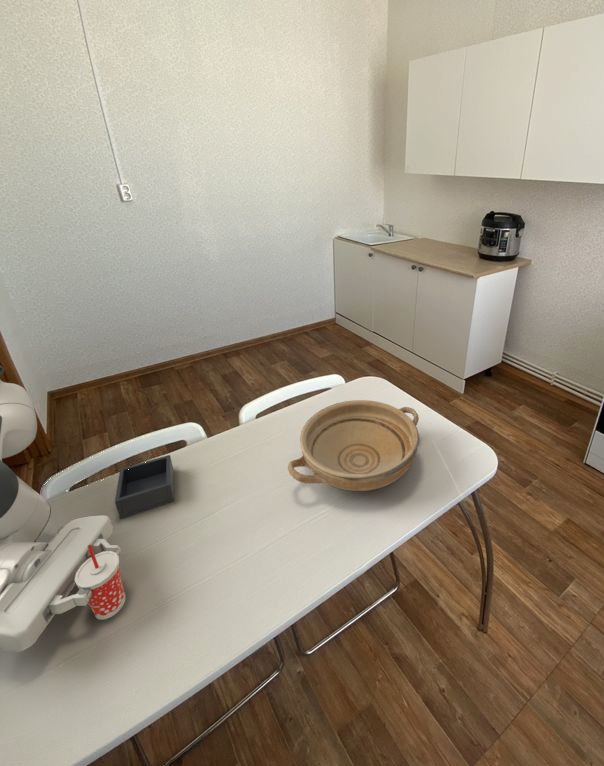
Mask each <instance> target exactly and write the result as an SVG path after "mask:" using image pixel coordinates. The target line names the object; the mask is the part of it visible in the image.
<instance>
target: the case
mask: <svg viewBox="0 0 604 766" xmlns="http://www.w3.org/2000/svg"><path fill="white" fill-rule="evenodd" d="M145 462H146V463H145ZM128 469H129V470H128ZM117 480H118V481H117V487H116V493H115V499H114V504H115V507H116V510H117V512H118V516H119V519H120V520H123V519H125V518H128V517H131V516H134V515H137V514H141V513H143V512H146V511H150V510H153V509H156V508H160V507H162V506H165V505H168V504H172V503H174V502H175V470H174V465H173V461H172V457H171V454H168V455H167V454H166V455H164V456H161V457H157V458H154V459H150V460H147V461H146V460H145V461H143V462H140V463H136V464H132V465H129V466H124V467H121V468H119V474H118V479H117Z"/></svg>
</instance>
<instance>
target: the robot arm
mask: <svg viewBox="0 0 604 766" xmlns="http://www.w3.org/2000/svg"><path fill="white" fill-rule="evenodd" d="M4 372H5V369H4V367H3V366H2V365H1V364H0V377H1V376H2V375H3V374H4ZM37 433H38V418H37V413H36V409H35V406H34V403H33V401H32V398H31V397H30V394H29V393H28V391H27V390H26V389H25V388H24V387H23V386H21V385H19V384H17V383H12V382H5V381H2V380H1V379H0V651H3V652H5V651H6V652H17V653H19V652H23V651H25V650H27V649H29V648H30V647H32V646H33V645H34V644H36V642H37V641H38V639H39V638H40V636H41V635H42V634H43V632H44V631H45V630H46V628H47V626H48V625H49V623H50V622H51V621H52V619H53V618H54V617H55V615H61V614H63V613H65V612H67V611H70V610H72V609H74V608H76V607H86V606H87V605H89V603H88V602H89V600H90V599H91V597H92V596H93V593H92V590H91V589H83V588H80V589H79V588H78V591H76V593H75V594H71V592H72V591H73V589H74V588H75V587H76V586H77V584H76V582H75V575H76V573H77V571H78V569H79V568H80V566H81V565H82V564H83V563H84V562H85V561H86V560H88V559H89V558H91V555H90V552H89V549H88V545H91V546H92V549H93V552H94V555H96V554H98V553H101V552H105V551H112V552H115V553H116V554H117V555H118V557H119V556H120V554H121V553H122V549H121V546H120V545H118V544H110V543H109V542H108V540H109V538H110V537H111V535H112V534H113V532H114V525H113V523H112V520H111V518H110V517H109V516H108V515H106V514H105V515H104V514H103V515H90V516H84V517H78V518H74V519H72V520H70V521H69V522H68V523H65V524H63V525H61V527H59V528H58V530H57V531H56V533H55V534H54V535H53V536H51V538H50V539H49V540H48V541H47V542H42V541H41V542H39V541H37V540H38V539H39V537H40V536H41V534H42V533H43V531H44V530H45V528H46V527H47V524H48V523H49V520H50V518H51V513H52V507H51V504H50V502H49V500H47V499H45V498H44V497H43V496H42V495H41V494H40V493H38V491H36V490H35V489H33V488H32V487H31V486H30V485H29V484H28V483H26V482H25V481H23V479H22V478H20V477H19V476H18V475H17V474H16V473H15V472H14V471H13V470H12V469H11V467H9V466H8V465H7V464H6V463H4V462H3V459H7V458H9V457H13V456H15V455H18V454H19V453H21V452H22V451H24V450H25V449H27V448H28V447H29V446H31V444H32V443H33V442H34V441H35V439H36V437H37ZM36 541H37V542H36ZM70 594H71V595H70Z"/></svg>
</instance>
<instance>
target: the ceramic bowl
mask: <svg viewBox="0 0 604 766" xmlns="http://www.w3.org/2000/svg"><path fill="white" fill-rule="evenodd" d="M408 414H411V415H412V416H413V419H412V418H411V417H410V416H409V415H408ZM419 420H420V417H419V414H418V412H417V411H416V410H415V409H414V408H412V407H409V406H403V407H400V408H397V407H395V406H393V405H390V404H388V403H385V402H381V401H376V400H369V399H354V400H353V399H352V400H345V401H341V402H337V403H334V404H331V405H328V406H326V407H324V408H322V409H320V410H318V411H317V412H316V413H313V415H312V416H311V417H310V418H309V419H308V420H307V421H306V422H305V424H304V425H303V427H302V429H301V432H300V437H299V444H300V449H301V454H302V455H301V457H300V458H297V459H293V460H291V461H290V462H289V463H288V464H287V471H288V473H289V475H290V476H291V477H292V478H293V479H295V480H296V481H297V482H299V483H301V484H302V483H303V484H309V485H311V484H327V485H329V486H331V487H333V488H336V489H339V490H343V491H349V492H368V491H373V490H375V491H376V490H378V489H382V488H384V487H387V486H388V485H391V484H392V483H395V482H396V481H397V480H398V479H400V478H401V477H402V476H404V475H405V474H406V472H408V471H409V470H410V468H411V466H412V464H413V463H414V461H415V459H416V456H417V452H418V447H419V443H420V435H419V431H418V427H417V426H418V423H419ZM301 467H303V468H308V469H309V470H310V471H311V473H312V474H311V475H309V474H303V473H300V472H299V471H297V470H296V469H295V468H301Z"/></svg>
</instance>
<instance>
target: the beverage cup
mask: <svg viewBox="0 0 604 766" xmlns="http://www.w3.org/2000/svg"><path fill="white" fill-rule="evenodd" d="M88 549H89V552H90V555H91V558H89V559H88V560H86V561H85V562H84V563H83V564H82V565H81V566H80V568H79V569H78V571H77V573H76V575H75V582H76V586H77V588H78V590H79V589H80V588H83V589H91V590H92V593H93V596H92V597H91V599H90V600H89V602H88V605H89V607H90V609H91V611H92V613H93V615H94V617H95V618H96V619H97V620H101V621H102V620H107V619H110V618H112V617H114V616H115V615H116V614H117V613H119V612H120V610H121V609H122V608H123V606H124V604H125V602H126V592H125V587H124V582H123V579H122V573H121V569H120V562H121V561H120V557H119V556H118V555H117V554H116V553H115V552H112V551H105V552H104V551H103V552H101V553H98V554H96V555H94V552H93V549H92V546H91V545H88Z"/></svg>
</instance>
